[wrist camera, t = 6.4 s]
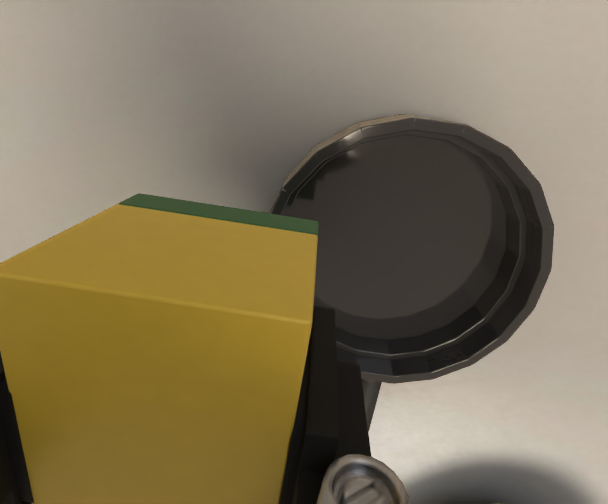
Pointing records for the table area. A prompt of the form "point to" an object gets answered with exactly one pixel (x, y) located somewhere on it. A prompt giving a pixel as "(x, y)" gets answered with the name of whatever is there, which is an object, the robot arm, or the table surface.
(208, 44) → the table surface
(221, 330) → the sponge
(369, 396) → the pan handle
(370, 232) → the pan
